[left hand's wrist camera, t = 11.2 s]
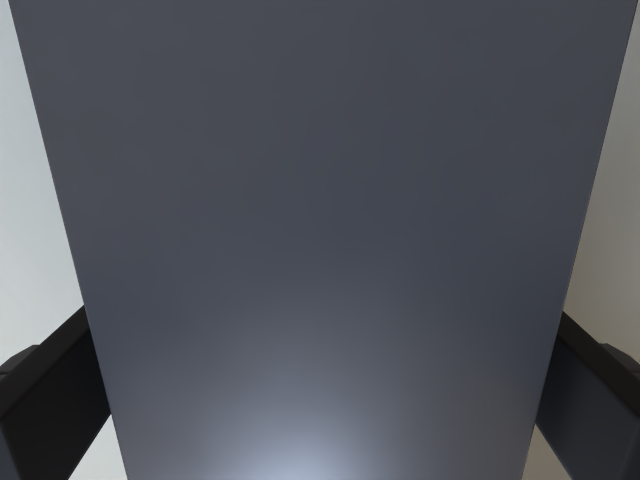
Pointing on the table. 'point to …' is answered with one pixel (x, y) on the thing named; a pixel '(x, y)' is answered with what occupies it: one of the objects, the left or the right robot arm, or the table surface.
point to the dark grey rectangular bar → (323, 221)
